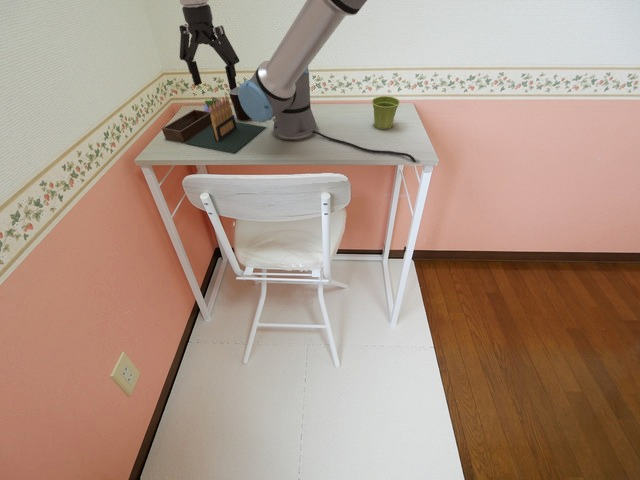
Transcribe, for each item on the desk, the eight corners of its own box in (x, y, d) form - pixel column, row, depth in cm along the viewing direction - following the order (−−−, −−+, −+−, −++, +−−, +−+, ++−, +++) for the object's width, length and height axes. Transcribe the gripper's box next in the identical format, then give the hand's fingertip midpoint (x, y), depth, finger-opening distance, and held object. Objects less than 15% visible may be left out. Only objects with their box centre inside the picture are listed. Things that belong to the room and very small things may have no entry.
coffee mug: (253, 122, 123) (248, 95, 116) (231, 121, 124) (225, 94, 118) (261, 110, 132) (257, 83, 125) (241, 109, 133) (236, 83, 126)
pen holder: (214, 122, 124) (211, 112, 122) (184, 143, 113) (180, 131, 110) (197, 119, 127) (193, 109, 124) (165, 139, 116) (161, 128, 113)
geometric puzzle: (219, 115, 124) (218, 93, 123) (201, 116, 124) (200, 94, 123) (225, 120, 131) (224, 99, 130) (208, 120, 131) (207, 100, 130)
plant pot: (399, 122, 119) (403, 98, 113) (392, 133, 113) (395, 108, 107) (374, 118, 122) (376, 94, 116) (366, 129, 116) (368, 104, 110)
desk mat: (265, 127, 120) (265, 126, 119) (234, 153, 106) (234, 152, 106) (220, 120, 126) (220, 119, 125) (185, 144, 112) (185, 142, 112)
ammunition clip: (219, 141, 112) (210, 106, 104) (215, 140, 113) (205, 105, 104) (237, 128, 119) (229, 94, 111) (233, 127, 120) (225, 93, 111)
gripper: (241, 3, 89) (255, 86, 103) (169, 2, 96) (191, 79, 111) (225, 8, 84) (242, 94, 98) (150, 6, 91) (176, 86, 106)
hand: (215, 86), depth 105 cm, fingers open, 13 cm apart
